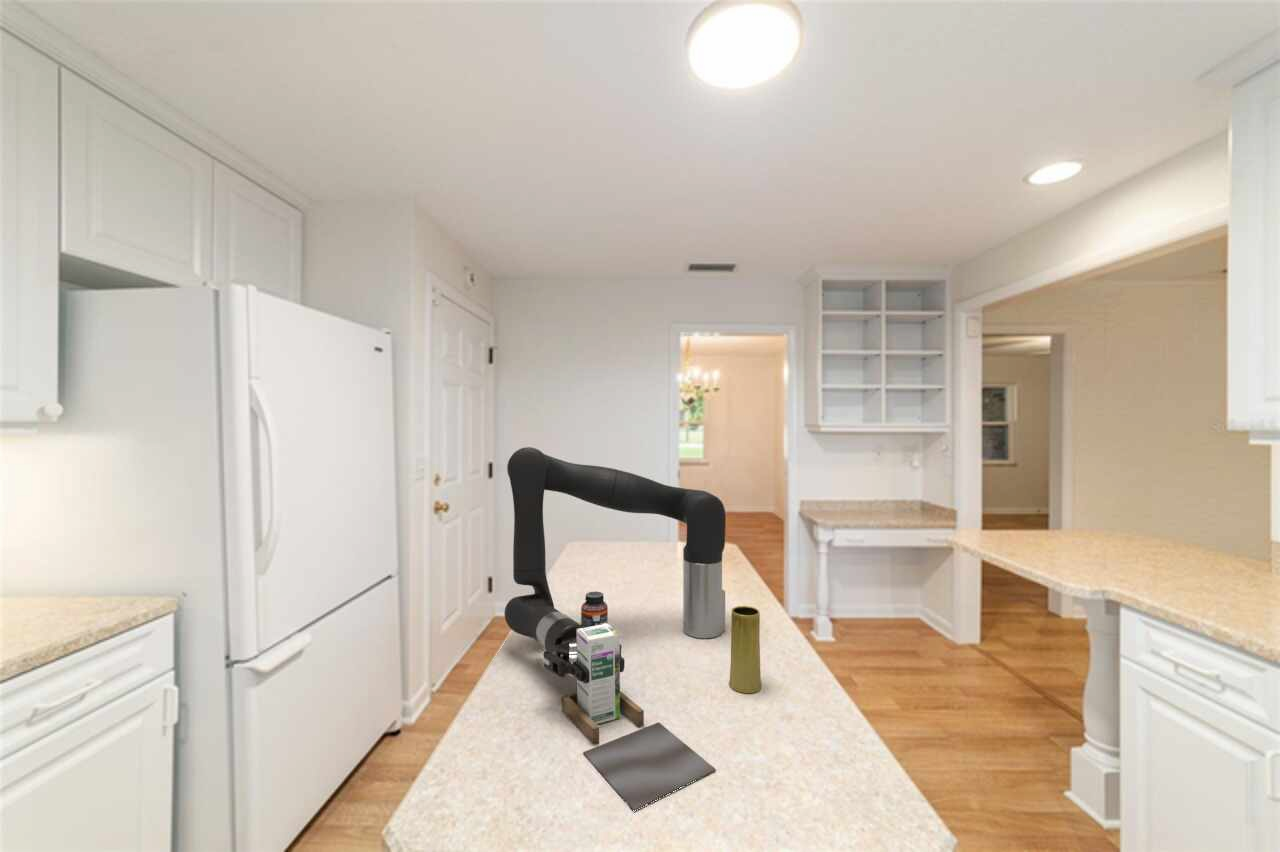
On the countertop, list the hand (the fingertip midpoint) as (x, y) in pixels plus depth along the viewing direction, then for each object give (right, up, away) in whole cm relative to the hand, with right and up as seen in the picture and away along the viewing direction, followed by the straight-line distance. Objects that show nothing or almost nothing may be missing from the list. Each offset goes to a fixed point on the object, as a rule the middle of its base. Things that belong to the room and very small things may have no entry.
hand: (605, 671), depth 87 cm
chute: (+4, -8, -5) cm, 10 cm away
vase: (+26, -8, +12) cm, 30 cm away
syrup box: (-1, -8, +2) cm, 9 cm away
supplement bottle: (-4, -8, +30) cm, 32 cm away
